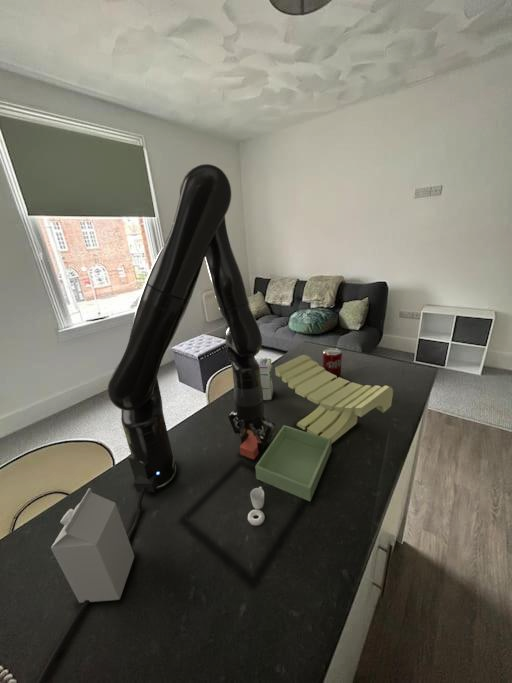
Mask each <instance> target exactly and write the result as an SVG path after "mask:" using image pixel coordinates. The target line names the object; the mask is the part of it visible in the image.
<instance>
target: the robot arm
mask: <svg viewBox="0 0 512 683" xmlns="http://www.w3.org/2000/svg"><path fill="white" fill-rule="evenodd" d="M232 195H233V193H232V185H231V183H230V180H229V178H228V176H227V174H226V173H225V171H224V170H222V169H221V168H220V167H218V166H216V165H214V164H209V163H204V164H199V165H196V166H194V167H191V169H190V170H189V171H187V173H186V174H185V175H184V176H183V179H182V182H181V184H180V187H179V198H178V202H177V207H176V211H175V214H174V218H173V222H172V225H171V228H170V230H169V233H168V236H167V238H166V240H165V242H164V244H163V246H162V248H161V249H160V252H159V253H158V255H157V256H156V259H155V260H154V261H153V264H152V266H151V269H150V270H149V272H148V275H147V277H146V279H145V283H144V285H143V288H142V292H141V293H140V297H139V300H138V303H137V307H136V309H135V313H134V317H133V321H132V325H131V330H130V335H129V339H128V342H127V345H126V348H125V350H124V353H123V355H122V357H121V359H120V360H119V363H117V365H116V366H115V368H114V370H113V372H112V374H111V376H110V378H109V380H108V384H107V394H108V395H107V396H108V398H109V401H110V402H111V403H112V405H113V406H115V407H116V408H118V409H119V410H121V425H122V429H123V432H124V434H125V438H126V442H127V446H128V449H129V452H130V454H129V455H128V456H127V459H128V462H129V465H130V468H131V473H132V475H133V478H134V483H133V484H134V487H135V488H134V489H135V491H136V492H138V493H139V492H140V493H139V496H138V500H137V512H136V516H135V520H134V522H133V525H132V526H131V528H130V531H129V532H128V534H127V537H128V539H129V541H130V540H131V538H133V535H134V533H135V531H136V529H137V527H138V524H139V521H140V518H141V515H142V510H143V498H144V495H145V493H150V494H154V493H155V492H156V491H159V490H161V489H163V488H165V487H167V486H169V484H170V483H172V482H173V481H174V479H175V477H176V474H177V466H176V464H175V459H176V457H175V455H174V454H173V451H172V450H173V449H172V446H171V441H170V437H169V433H168V429H167V424H166V420H165V415H164V410H163V408H164V407H163V399H162V395H161V394H162V393H161V389H160V384H159V379H158V374H159V372H160V371H159V370H160V367H161V364H162V361H163V359H164V356H165V354H166V353H167V350H168V348H169V347H170V345H171V343H172V341H173V339H174V337H175V335H176V333H177V331H178V329H179V327H180V324H181V322H182V320H183V318H184V316H185V314H186V311H187V309H188V306H189V304H190V301H191V299H192V297H193V294H194V290H195V287H196V285H197V282H198V279H199V276H200V273H201V270H202V267H203V263H204V260H205V261H206V266H207V271H208V274H209V278H210V281H211V285H212V290H213V292H214V297H215V300H216V304H217V306H218V310H219V313H220V316H221V317H222V318H223V320H224V321H225V323H226V325H227V327H228V328H227V329H226V332H225V338H224V339H225V346H226V351H227V355H228V358H229V361H230V364H231V369H232V370H231V371H232V380H233V398H234V407H235V410H233V411H231V413H230V414H229V415H228V420H229V423H230V425H231V427H232V430H233V432H234V434H239V436H240V441H241V442H240V443H241V445H242V444H243V442H244V441H245V440H246V439H247V438H248V436H249V434H248V433H247V431H248V430H251V431H252V432H253V434H254V436H255V437H256V439H257V441H258V442H257V446H258V452H259V453H258V454H261V453H262V452H264V450H265V449H266V445H267V444H268V443H269V441H270V440H271V438H272V436H273V432H274V430H275V426H276V424H275V422H273V421H271V422H268V421H267V420H266V418H265V415H264V412H265V406H264V400H263V391H262V385H261V376H260V367H259V364H258V362H257V360H256V359H257V358H256V357H255V356H257V355H258V354H259V352H260V351H261V349H262V346H263V337H262V332H261V329H260V327H259V325H258V324H259V323H258V322H257V320H256V318H255V315H254V313H253V311H252V308H251V305H250V300H249V295H248V292H247V288H246V283H245V280H244V276H243V273H242V271H241V268H240V266H239V264H238V261H237V259H236V256H235V254H234V251H233V248H232V244H231V241H230V238H229V234H228V229H227V223H226V222H227V220H226V215H227V213H228V211H229V209H230V207H231V204H232V197H233V196H232ZM90 603H91V602H90V601H89V600H85V601H84V603H81V605H80V607H79V609H78V611H77V612H76V614H74V617H73V619H72V620H71V622H70V623H69V625H68V626H67V627H66V628H67V629H66V630H65V632H64V634H63V635H62V637H61V638H60V641H59V642H58V644H57V645H56V647H55V649H54V650H53V652H52V653H51V656H50V657H49V659H48V660H47V663H46V665H45V667H44V668H43V669H42V671H41V673H40V675H39V677H38V679H37V681H36V683H45V680H46V678H47V676H48V674H49V673H50V671H51V669H52V667H53V665H54V663H55V662H56V659H58V657H59V654H60V652H61V651H62V649H63V647H64V645H65V644H66V642H67V640H68V638H69V637H70V636H71V634H72V631H73V630H74V628H75V627H76V625H77V623H78V622H79V620H80V619H81V617H82V615H83V614H84V612H85V610H86V609H87V607H88V605H89V604H90Z"/></svg>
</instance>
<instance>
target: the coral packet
mask: <svg viewBox="0 0 512 683" xmlns="http://www.w3.org/2000/svg"><path fill="white" fill-rule="evenodd" d="M257 442H258V441H257V439H256V437H255V436H254V434H253V432H252V433H251V434H250V435H249V434H248V438H247V439H246V440H245V441H244V442H243V444H242V443H241V445H240V446H239V454H240V455H241V456H244V457H246V458H249V459H252V460H255V459H256V458H257V457H258V455H259V454H260V453H259V452H258V446H257Z"/></svg>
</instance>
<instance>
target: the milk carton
mask: <svg viewBox="0 0 512 683" xmlns="http://www.w3.org/2000/svg"><path fill="white" fill-rule="evenodd" d="M59 523H60V524H61V525H63V527H62V529H61V530H60V532H59V534H58V536H57V537H56V538H55V540H54V542H53V543H52V545H51V547H50V550H51V551H52V554H53V555H54V557H55V560H56V561H57V563H58V565H59V567H60V569H61V571H62V573H63V575H64V577H65V578H66V581H67V582H68V584H69V586H70V588H71V590H72V592H73V594H74V596H75V598H76V600H77V601H78V603H79V604H83V603H84V601H85V600H89V601H90V602H89V603H95V602H96V603H97V602H107V601H108V602H109V601H119V600H121V597H122V594H123V592H124V589H125V586H126V583H127V579H128V577H129V574H130V571H131V569H132V565H133V562H134V559H135V554H134V551H133V548H132V546H131V542H130V540H129V539H128V537H127V536H128V534H127V532H126V528H125V525H124V523H123V521H122V517H121V514H120V511H119V509H118V505H117V503H116V502H114V501H112V500H110V499H108V498H105V497H103V496H101V495H99V494H96V493H94V492H92V489H91V488H90V487H89V488H88V489H87V490H86V492H85V493H84V495H83V497H82V498H81V500H80V502H79V503H78V504H77V505H76V506H75V507H74V509H73V508H69V509H68V510H67V511H66V512H65V513H64V514H63V517H62V518H61V520H60V522H59Z"/></svg>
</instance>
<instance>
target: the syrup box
mask: <svg viewBox="0 0 512 683" xmlns="http://www.w3.org/2000/svg"><path fill="white" fill-rule="evenodd" d="M255 359H256V360H257V362H258V364H259V367H260V376H261V385H262V391H263V401H269V400H270V401H272V398H273V395H274V381H273V367H272V359H271V358H265V357H263V358H255Z"/></svg>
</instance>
